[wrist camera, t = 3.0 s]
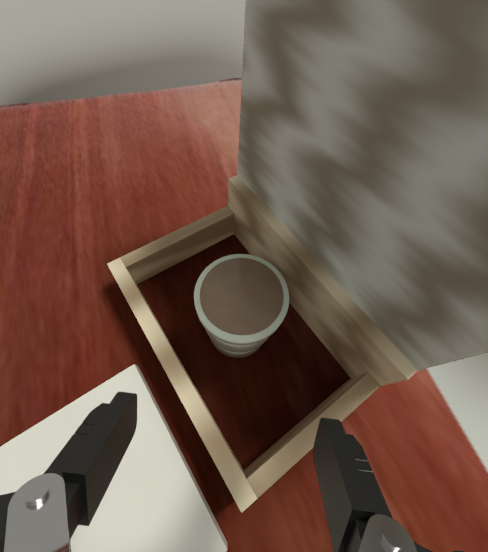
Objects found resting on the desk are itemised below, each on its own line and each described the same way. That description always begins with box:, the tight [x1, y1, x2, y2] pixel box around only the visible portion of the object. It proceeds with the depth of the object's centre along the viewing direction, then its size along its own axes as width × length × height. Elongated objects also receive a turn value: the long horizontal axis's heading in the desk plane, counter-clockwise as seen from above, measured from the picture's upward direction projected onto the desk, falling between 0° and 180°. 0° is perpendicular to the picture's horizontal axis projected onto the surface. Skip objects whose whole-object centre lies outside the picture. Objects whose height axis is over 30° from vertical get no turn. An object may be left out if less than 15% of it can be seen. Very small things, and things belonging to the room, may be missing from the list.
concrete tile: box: [0, 364, 227, 552], centre depth 18 cm, size 14×14×1 cm
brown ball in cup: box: [194, 254, 289, 358], centre depth 22 cm, size 6×6×8 cm
